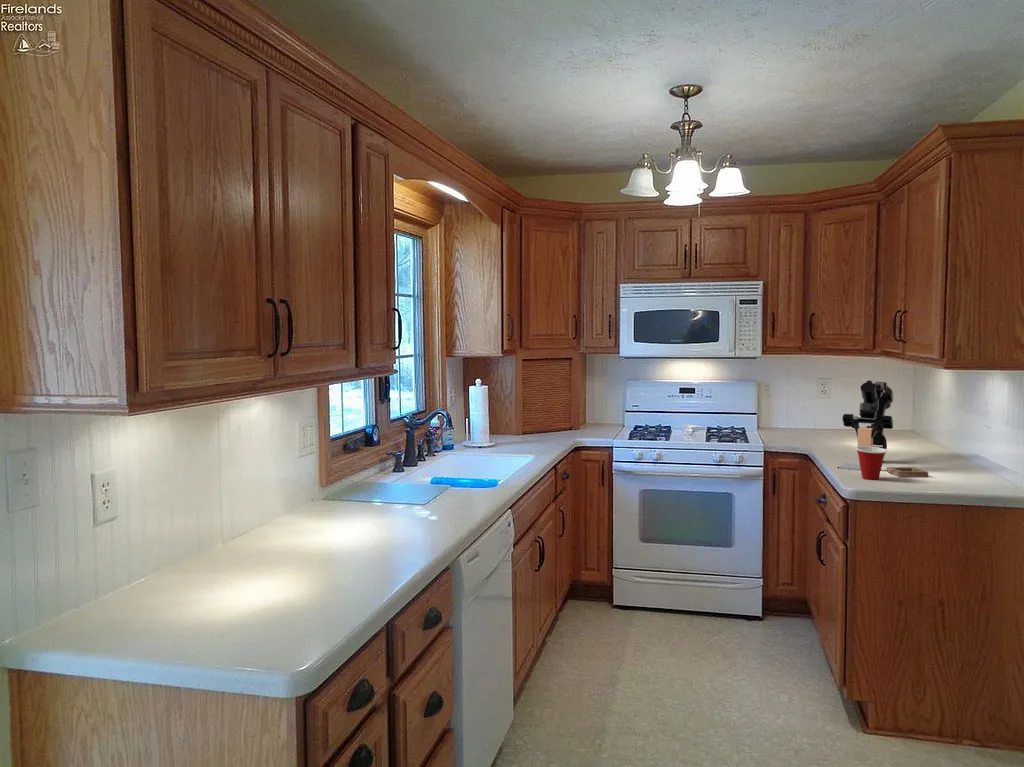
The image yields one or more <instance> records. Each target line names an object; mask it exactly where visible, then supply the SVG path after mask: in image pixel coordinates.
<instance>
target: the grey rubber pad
mask: <svg viewBox="0 0 1024 767" xmlns="http://www.w3.org/2000/svg"><path fill="white" fill-rule="evenodd" d="M837 467H839V468H838V469H841V468H847V469H846V470H852V469H857V470H856V471H861V469H860V463H858V464H857V463H849V462H844V463H841V464H840V465H837V466H836V468H837Z"/></svg>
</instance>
